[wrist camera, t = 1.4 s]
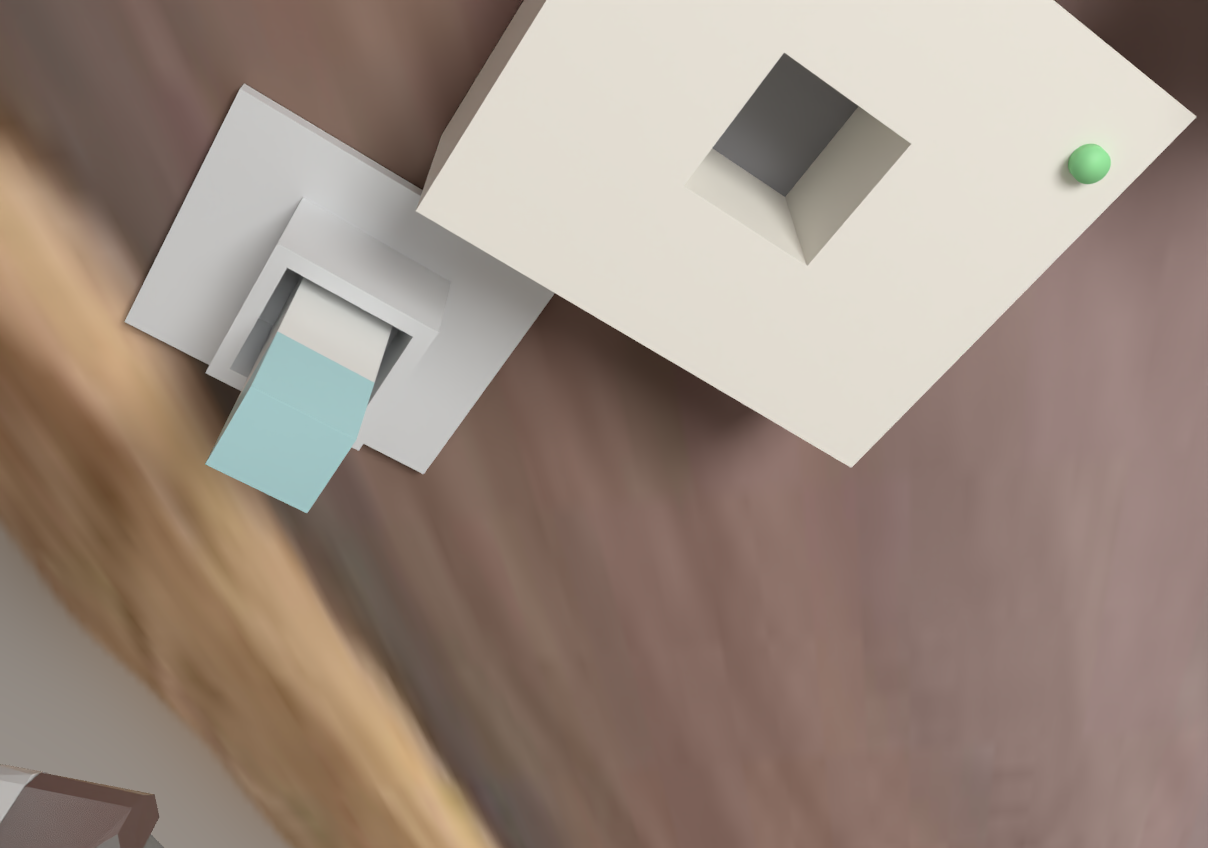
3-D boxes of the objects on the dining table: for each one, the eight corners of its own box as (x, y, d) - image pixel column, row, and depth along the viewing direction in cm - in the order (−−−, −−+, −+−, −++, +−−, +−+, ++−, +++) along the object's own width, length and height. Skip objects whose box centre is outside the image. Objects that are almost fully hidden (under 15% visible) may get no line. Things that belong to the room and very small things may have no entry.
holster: (129, 315, 41) (87, 373, 37) (244, 83, 36) (207, 127, 33) (425, 466, 45) (410, 532, 41) (564, 274, 40) (560, 331, 37)
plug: (279, 312, 40) (205, 464, 33) (319, 243, 39) (251, 385, 31) (361, 356, 41) (307, 513, 34) (403, 290, 40) (356, 439, 32)
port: (441, 135, 37) (413, 216, 32) (698, -288, 30) (717, -273, 25) (822, 370, 42) (853, 475, 37) (1114, 51, 35) (1203, 122, 30)
